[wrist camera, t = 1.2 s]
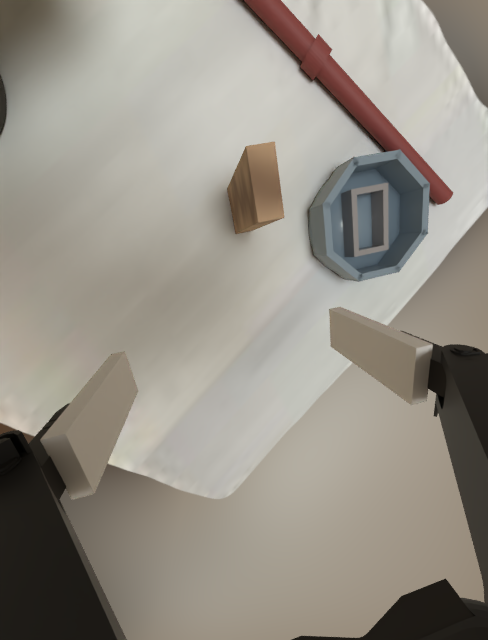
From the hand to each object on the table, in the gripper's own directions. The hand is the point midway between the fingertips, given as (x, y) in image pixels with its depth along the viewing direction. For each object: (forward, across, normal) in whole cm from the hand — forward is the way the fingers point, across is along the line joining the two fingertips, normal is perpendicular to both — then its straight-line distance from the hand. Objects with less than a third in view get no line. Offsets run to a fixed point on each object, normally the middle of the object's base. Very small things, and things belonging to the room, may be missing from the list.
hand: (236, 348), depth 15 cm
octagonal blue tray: (+23, +24, +6) cm, 34 cm away
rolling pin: (+23, +22, +23) cm, 40 cm away
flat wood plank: (+23, +6, +11) cm, 26 cm away
